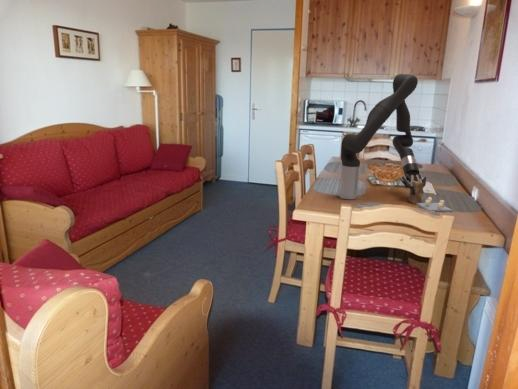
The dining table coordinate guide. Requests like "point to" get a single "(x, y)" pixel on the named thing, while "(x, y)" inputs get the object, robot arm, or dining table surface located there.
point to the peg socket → (434, 206)
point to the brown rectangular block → (416, 192)
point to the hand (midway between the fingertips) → (417, 194)
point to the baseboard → (429, 189)
